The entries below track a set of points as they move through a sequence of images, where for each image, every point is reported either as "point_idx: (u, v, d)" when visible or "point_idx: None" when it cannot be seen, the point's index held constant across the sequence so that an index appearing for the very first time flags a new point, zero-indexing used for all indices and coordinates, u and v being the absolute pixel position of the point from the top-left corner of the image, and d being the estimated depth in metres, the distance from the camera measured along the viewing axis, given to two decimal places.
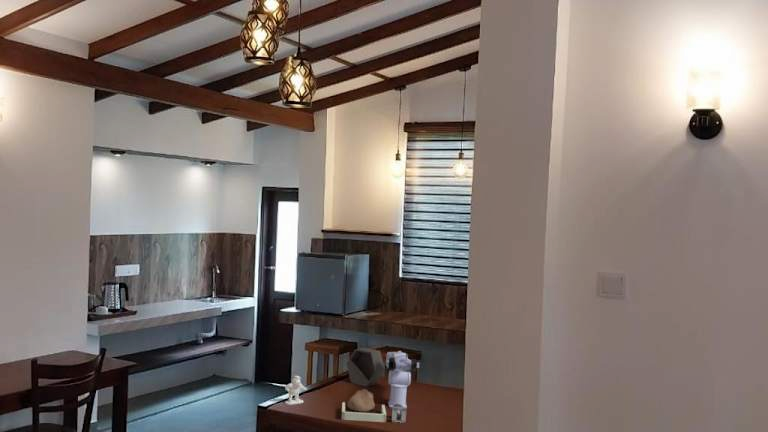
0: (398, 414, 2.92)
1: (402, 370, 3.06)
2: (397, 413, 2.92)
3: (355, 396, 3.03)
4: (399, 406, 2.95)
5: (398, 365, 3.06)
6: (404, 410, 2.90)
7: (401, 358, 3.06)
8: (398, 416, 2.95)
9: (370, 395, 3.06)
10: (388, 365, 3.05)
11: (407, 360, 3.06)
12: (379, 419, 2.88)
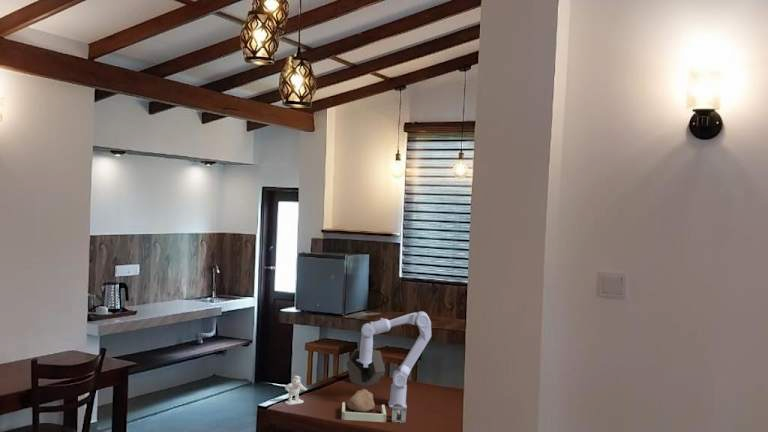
0: (398, 414, 2.92)
1: None
2: (397, 413, 2.92)
3: (355, 396, 3.03)
4: (399, 406, 2.95)
5: None
6: (404, 410, 2.90)
7: None
8: (398, 416, 2.95)
9: (370, 395, 3.06)
10: None
11: None
12: (379, 419, 2.88)
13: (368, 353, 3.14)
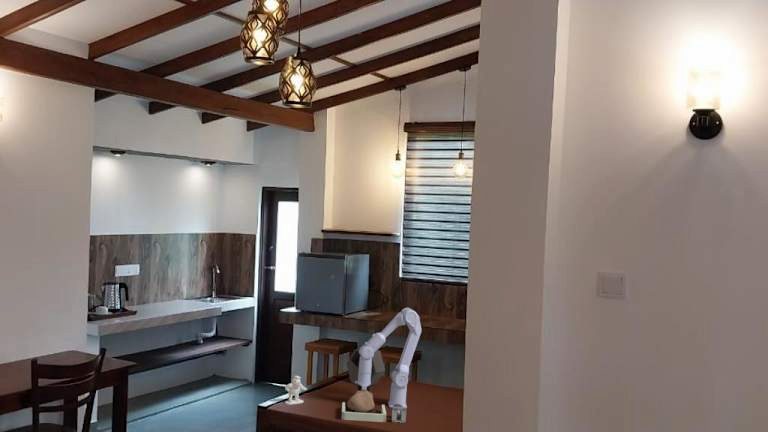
0: (398, 414, 2.92)
1: (369, 384, 3.14)
2: (397, 413, 2.92)
3: (355, 396, 3.03)
4: (399, 406, 2.95)
5: None
6: (404, 410, 2.90)
7: None
8: (398, 416, 2.95)
9: (370, 395, 3.06)
10: None
11: None
12: (379, 419, 2.88)
13: (367, 375, 3.11)
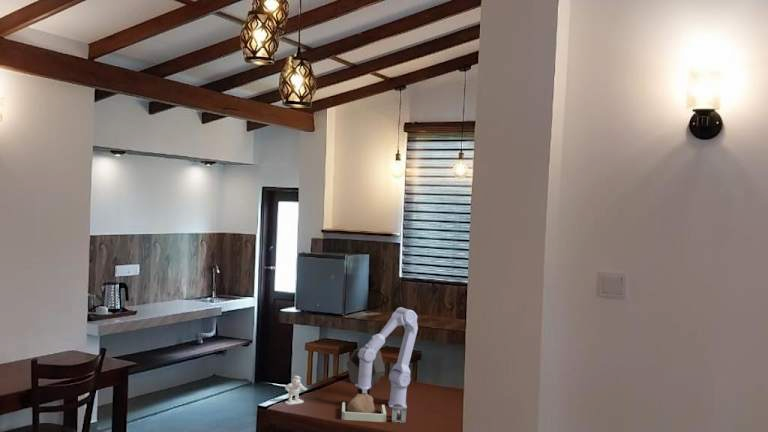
0: (398, 414, 2.92)
1: None
2: (397, 413, 2.92)
3: (355, 399, 2.97)
4: (399, 406, 2.95)
5: None
6: (404, 410, 2.90)
7: None
8: (398, 416, 2.95)
9: (370, 398, 3.00)
10: None
11: None
12: (379, 419, 2.88)
13: (367, 378, 3.05)
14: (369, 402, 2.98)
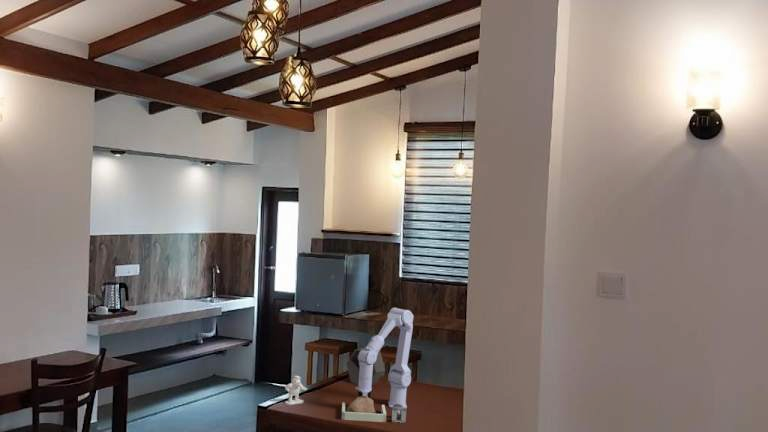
0: (398, 414, 2.92)
1: (370, 390, 3.03)
2: (397, 413, 2.92)
3: (354, 402, 2.92)
4: (399, 406, 2.95)
5: None
6: (404, 410, 2.90)
7: None
8: (398, 416, 2.95)
9: (370, 401, 2.95)
10: None
11: None
12: (379, 419, 2.88)
13: (367, 381, 3.00)
14: (369, 405, 2.93)
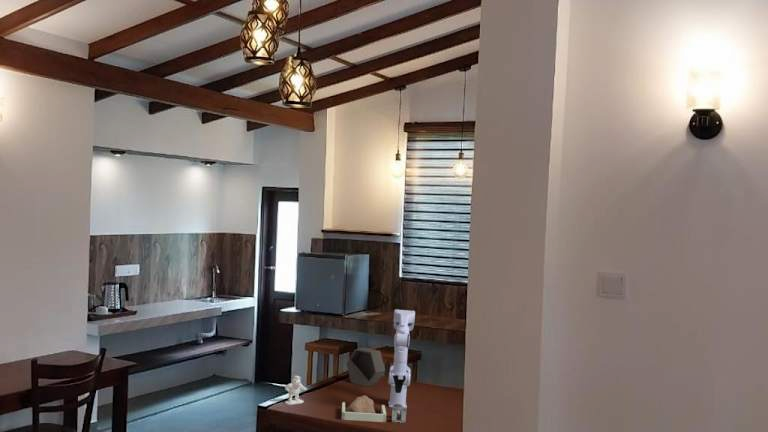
0: (398, 414, 2.92)
1: (405, 373, 3.02)
2: (397, 413, 2.92)
3: (354, 403, 2.92)
4: (399, 406, 2.95)
5: None
6: (404, 410, 2.90)
7: None
8: (398, 416, 2.95)
9: (370, 402, 2.95)
10: None
11: None
12: (379, 419, 2.88)
13: (402, 364, 3.00)
14: (369, 405, 2.93)
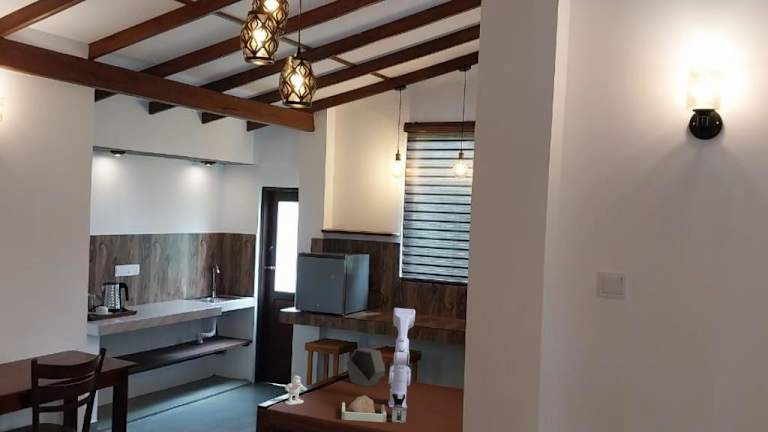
0: (398, 415, 2.91)
1: (405, 392, 2.98)
2: (397, 414, 2.91)
3: (354, 403, 2.92)
4: None
5: None
6: (404, 410, 2.90)
7: None
8: (398, 417, 2.94)
9: (370, 402, 2.95)
10: None
11: None
12: (379, 419, 2.88)
13: (402, 383, 2.96)
14: (369, 405, 2.93)
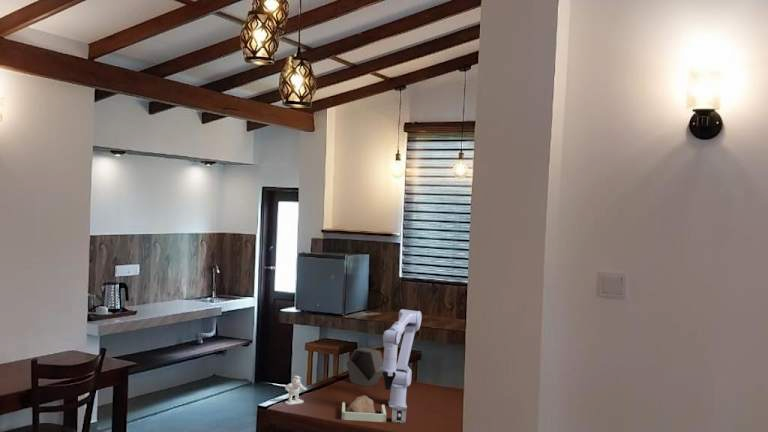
0: (399, 416, 2.89)
1: None
2: (398, 415, 2.88)
3: (354, 403, 2.92)
4: None
5: None
6: (404, 410, 2.90)
7: None
8: (399, 418, 2.92)
9: (370, 402, 2.95)
10: None
11: None
12: (379, 419, 2.88)
13: (392, 361, 3.00)
14: (369, 405, 2.93)
